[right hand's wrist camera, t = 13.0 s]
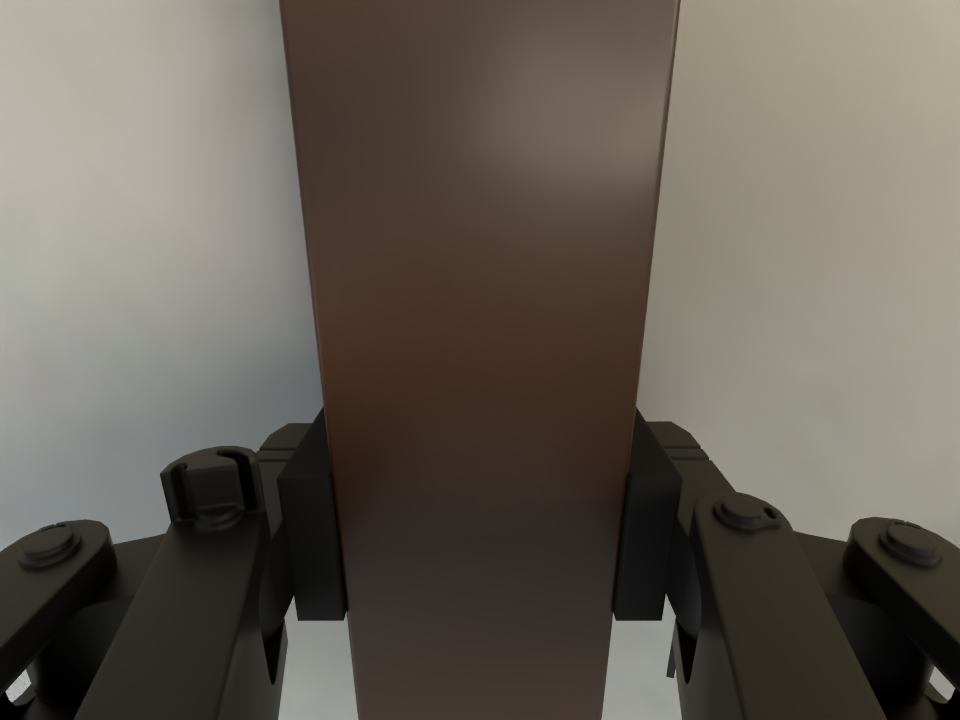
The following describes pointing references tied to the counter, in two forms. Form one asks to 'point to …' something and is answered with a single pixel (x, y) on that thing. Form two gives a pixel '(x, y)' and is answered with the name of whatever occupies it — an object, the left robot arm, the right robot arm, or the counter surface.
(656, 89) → the rail
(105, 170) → the counter surface
